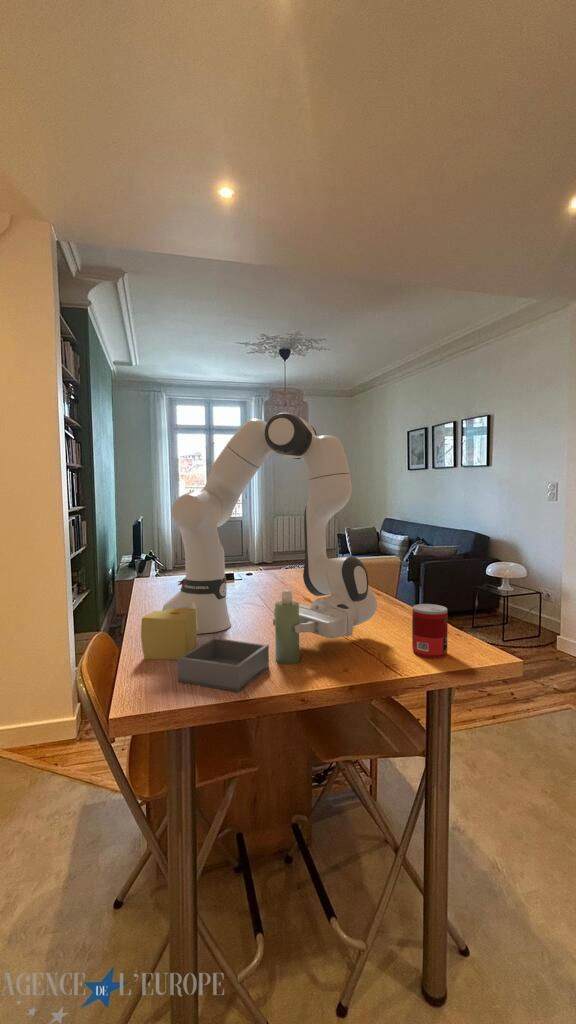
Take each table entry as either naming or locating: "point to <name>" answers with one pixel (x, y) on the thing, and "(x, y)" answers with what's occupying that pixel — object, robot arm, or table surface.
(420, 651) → the canned food
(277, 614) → the green bottle
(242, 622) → the table surface
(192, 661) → the box
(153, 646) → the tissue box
